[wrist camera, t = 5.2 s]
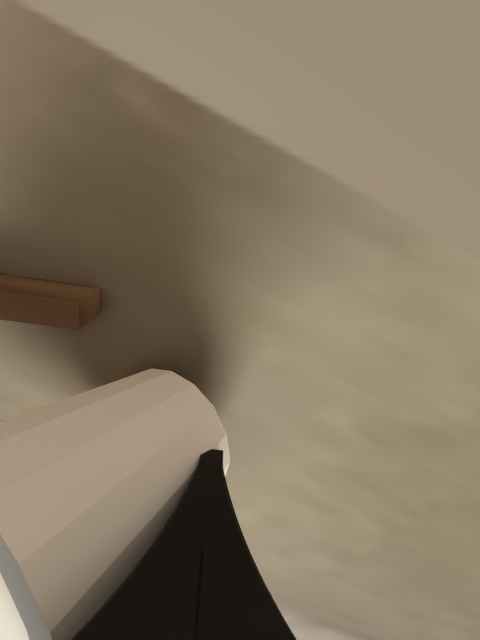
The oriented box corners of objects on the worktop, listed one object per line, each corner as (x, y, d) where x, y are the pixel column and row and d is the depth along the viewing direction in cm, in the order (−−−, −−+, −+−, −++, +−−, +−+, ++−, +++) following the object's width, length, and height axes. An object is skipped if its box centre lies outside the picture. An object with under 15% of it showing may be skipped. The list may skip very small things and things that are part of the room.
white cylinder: (110, 335, 14) (-124, 410, 8) (252, 382, 11) (37, 558, 5) (116, 467, 16) (-66, 603, 10) (238, 539, 13) (74, 794, 7)
